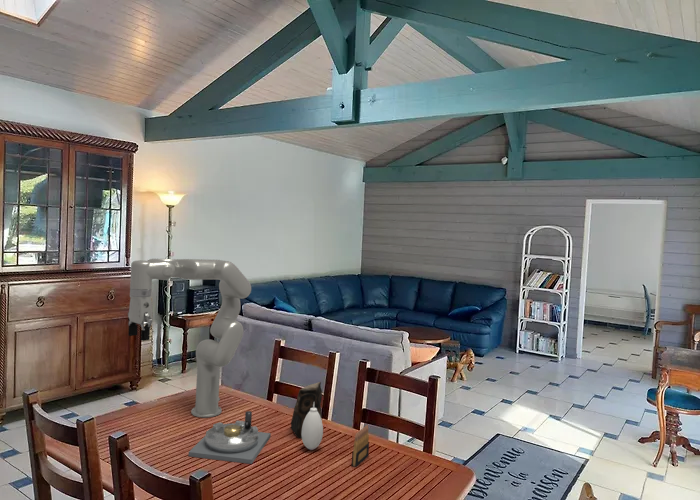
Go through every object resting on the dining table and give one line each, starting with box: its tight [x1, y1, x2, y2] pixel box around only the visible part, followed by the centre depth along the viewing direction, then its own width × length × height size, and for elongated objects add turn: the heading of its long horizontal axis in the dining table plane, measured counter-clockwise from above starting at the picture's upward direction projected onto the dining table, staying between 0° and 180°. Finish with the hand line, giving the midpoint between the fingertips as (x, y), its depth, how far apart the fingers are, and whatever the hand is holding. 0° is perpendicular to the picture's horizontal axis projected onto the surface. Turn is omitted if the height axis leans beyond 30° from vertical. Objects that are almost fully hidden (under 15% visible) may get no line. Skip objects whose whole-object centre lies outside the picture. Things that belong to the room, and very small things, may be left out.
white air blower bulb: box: [301, 403, 324, 451], centre depth 188 cm, size 8×8×18 cm
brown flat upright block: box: [351, 424, 370, 468], centre depth 180 cm, size 11×2×12 cm, turn 154°
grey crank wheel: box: [205, 410, 259, 453], centre depth 186 cm, size 19×19×9 cm
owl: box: [290, 381, 323, 440], centre depth 201 cm, size 13×13×20 cm
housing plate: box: [187, 431, 272, 465], centre depth 186 cm, size 23×23×2 cm
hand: (138, 337), depth 191 cm, fingers open, 9 cm apart
